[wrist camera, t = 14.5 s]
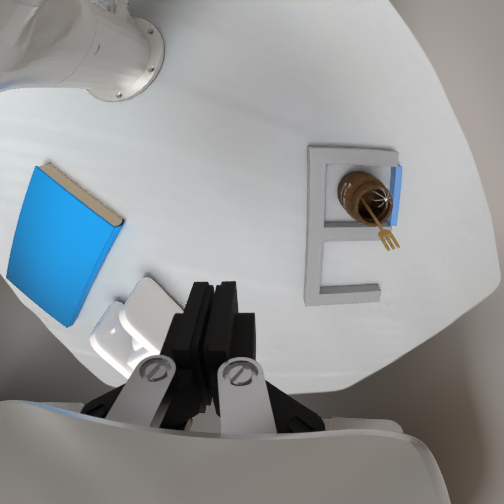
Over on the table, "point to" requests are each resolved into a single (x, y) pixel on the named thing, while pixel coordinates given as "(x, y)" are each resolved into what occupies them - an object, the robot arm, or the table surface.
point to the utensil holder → (367, 202)
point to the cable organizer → (134, 327)
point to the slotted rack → (341, 230)
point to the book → (59, 243)
